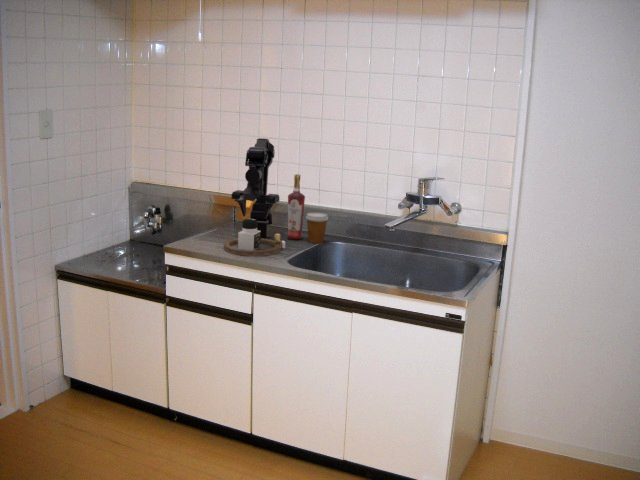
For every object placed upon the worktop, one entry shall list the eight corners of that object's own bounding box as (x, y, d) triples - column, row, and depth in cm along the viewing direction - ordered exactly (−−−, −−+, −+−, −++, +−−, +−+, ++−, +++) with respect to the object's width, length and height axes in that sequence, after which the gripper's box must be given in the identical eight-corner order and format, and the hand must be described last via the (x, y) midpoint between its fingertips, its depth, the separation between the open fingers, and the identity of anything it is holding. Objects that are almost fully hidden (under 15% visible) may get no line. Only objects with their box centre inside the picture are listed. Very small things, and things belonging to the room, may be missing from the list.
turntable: (219, 242, 303) (219, 229, 302) (272, 240, 311) (273, 227, 309) (230, 256, 282) (230, 243, 281) (287, 254, 290) (288, 241, 288)
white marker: (282, 248, 299) (282, 242, 299) (280, 246, 301) (281, 240, 301) (285, 248, 300) (285, 242, 299) (283, 246, 302) (283, 240, 301)
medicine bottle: (254, 251, 292) (254, 222, 290) (237, 249, 294) (238, 220, 291) (260, 247, 299) (261, 218, 296) (244, 245, 301) (245, 217, 298)
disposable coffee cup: (328, 244, 309) (330, 217, 306) (306, 244, 307) (307, 216, 304) (324, 239, 318) (326, 212, 315) (303, 239, 316) (304, 212, 313)
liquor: (284, 239, 313) (286, 175, 306) (288, 235, 320) (290, 173, 313) (301, 241, 312) (303, 176, 305) (304, 237, 319) (307, 174, 312)
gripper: (226, 180, 284) (225, 219, 288) (270, 184, 279) (269, 224, 283) (237, 176, 295) (236, 213, 299) (280, 180, 290) (279, 218, 293)
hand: (254, 217), depth 293 cm, fingers open, 9 cm apart
